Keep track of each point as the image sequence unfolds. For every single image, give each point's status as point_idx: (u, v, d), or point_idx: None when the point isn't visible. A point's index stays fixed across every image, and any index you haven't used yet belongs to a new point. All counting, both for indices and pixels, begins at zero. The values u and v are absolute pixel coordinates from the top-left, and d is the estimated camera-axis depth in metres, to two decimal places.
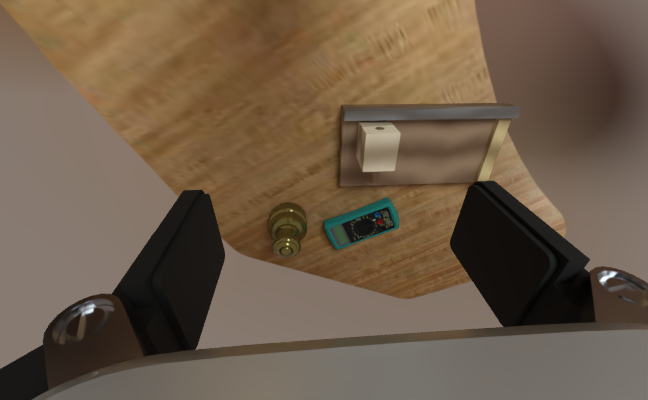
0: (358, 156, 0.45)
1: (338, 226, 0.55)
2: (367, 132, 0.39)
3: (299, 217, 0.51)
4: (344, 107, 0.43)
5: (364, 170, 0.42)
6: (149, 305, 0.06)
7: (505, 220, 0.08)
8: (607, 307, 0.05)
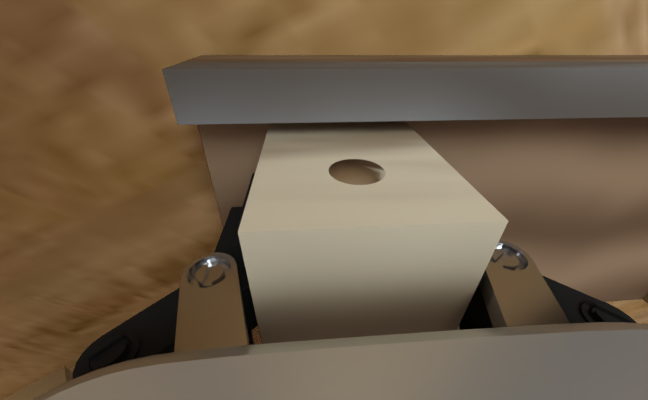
0: None
1: None
2: (263, 208, 0.05)
3: None
4: (194, 60, 0.09)
5: None
6: None
7: None
8: (500, 282, 0.06)
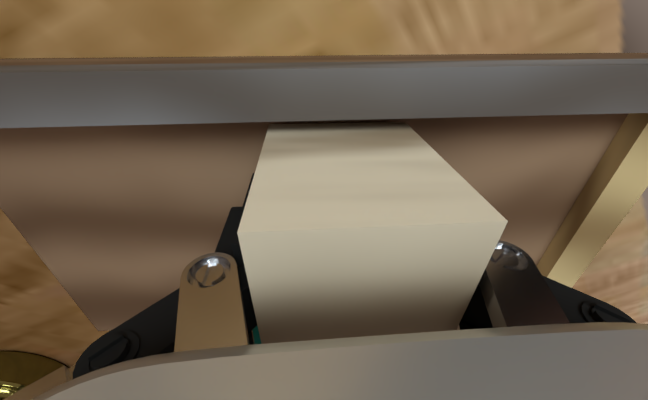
0: None
1: None
2: (263, 208, 0.05)
3: None
4: None
5: None
6: None
7: None
8: (500, 282, 0.06)
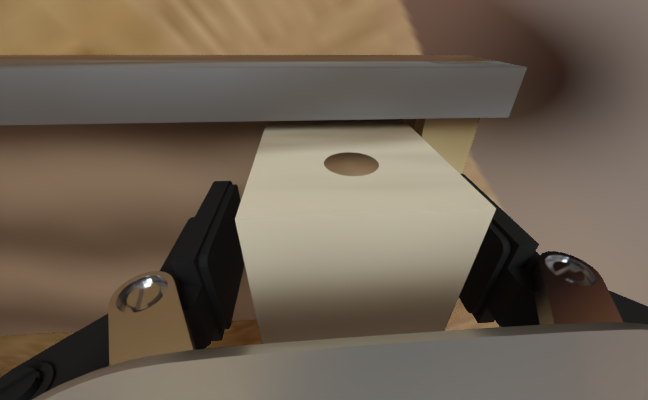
0: None
1: None
2: (259, 197, 0.06)
3: None
4: None
5: None
6: (195, 282, 0.06)
7: None
8: (557, 292, 0.06)
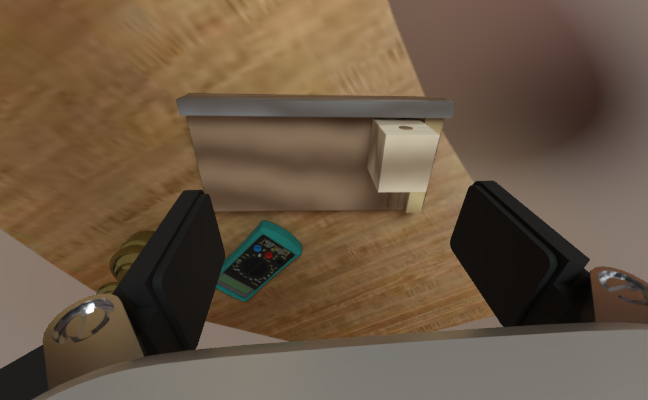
0: (371, 169, 0.31)
1: (224, 276, 0.41)
2: (388, 132, 0.25)
3: None
4: (186, 95, 0.28)
5: (381, 190, 0.28)
6: (149, 305, 0.06)
7: (505, 220, 0.08)
8: (607, 307, 0.05)
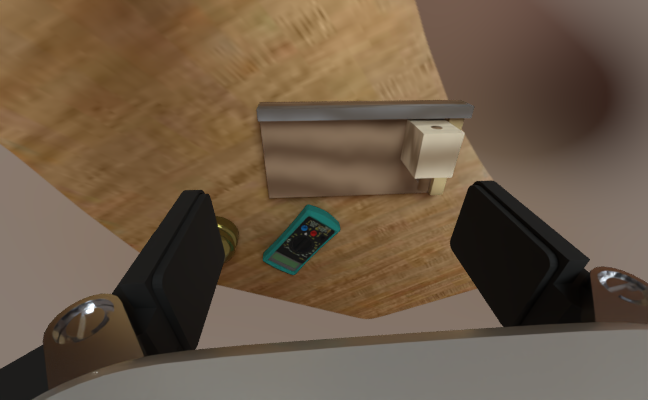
0: (406, 160, 0.38)
1: (276, 254, 0.50)
2: (424, 131, 0.33)
3: (223, 234, 0.43)
4: (260, 105, 0.35)
5: (417, 176, 0.35)
6: (149, 305, 0.06)
7: (505, 220, 0.08)
8: (607, 307, 0.05)
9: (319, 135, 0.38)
